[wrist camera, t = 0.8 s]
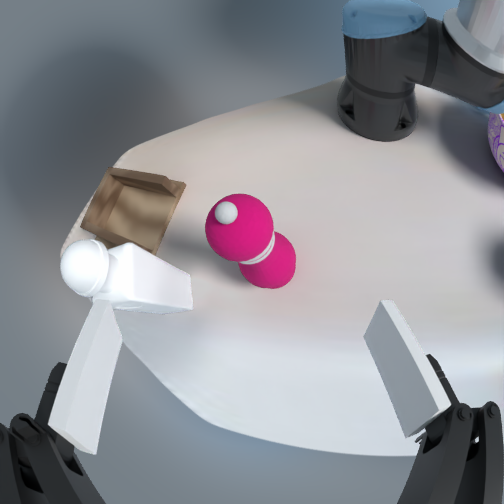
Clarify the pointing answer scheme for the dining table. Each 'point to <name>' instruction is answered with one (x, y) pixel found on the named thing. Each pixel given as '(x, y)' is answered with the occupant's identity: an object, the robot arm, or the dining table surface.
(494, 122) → the bowl of food
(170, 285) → the white plastic bottle
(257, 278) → the pepper mill
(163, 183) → the walnut holder
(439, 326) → the dining table surface
